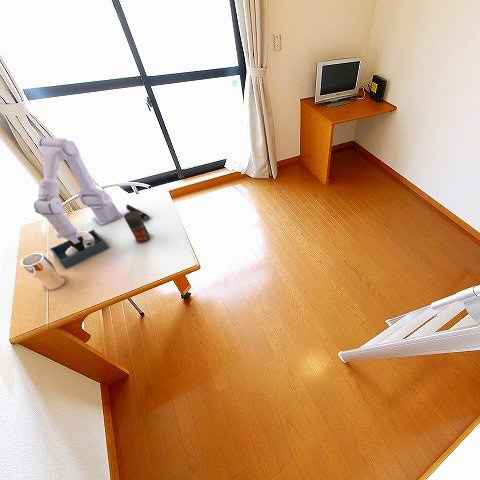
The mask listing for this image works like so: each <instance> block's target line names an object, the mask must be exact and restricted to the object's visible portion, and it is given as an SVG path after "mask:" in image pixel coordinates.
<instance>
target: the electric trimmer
mask: <svg viewBox="0 0 480 480" xmlns="http://www.w3.org/2000/svg"><path fill="white" fill-rule="evenodd" d="M125 207H126V210H127V211H128V212H131V211H137V212H138V213H139V214H140V216H141V219H142V221H143V222H147V221H148V220H150V219H151V218H150V215H149V214H147V213H146V212H144V211H141V210H139V209H138V208H136V207H133V206H132V205H130V204H126V206H125Z"/></svg>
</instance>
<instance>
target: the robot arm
mask: <svg viewBox="0 0 480 480" xmlns="http://www.w3.org/2000/svg"><path fill="white" fill-rule="evenodd" d="M37 143H38V144H37V145H38V151H39V152H40V154H41V155H42V164H43V178H42V179H41V180H39V183H38V184H39V185H38V197H37V200H35V201H34V204H33V208H34V212H35V213H36V214H39V215H41V216H42V217H44V218H45V219H46V221H48V223H49V224H50V225H51V227H53V229H54V230H55V231H56V232H57V234H56V235H55V237H56V238H57V239H60V238H62V239H65V240H67V242H66V241H65V242H66V243H67V244H68V245H69V246H72V247H74V248H75V249H77V250H78V251H79V252H81V251H83V250H85V247H84V245H83V237H82V236H81V237H78V238H77V233H78V229H77V228H76V227H75V226H74V224H73V223H72V222H71V220H70V218H68V216H67V215H66V214H65V212H64V211H63V208H64V207H63V205H64V204H63V203H62V199H61V198H60V189H61V188H60V186H61V185H60V183H59V181H57V178H58V174H59V173H58V172H59V167H60V162H61V161H64V160H65V161H66V163H67V165H68V166H69V168H70V170H71V172H72V174H73V176H74V177H75V179H76V181H77V184H78V185H79V187H80V190H79V191H78V195H79V200H80V202H81V204H82V205H84V206H87V208H90V210H91V211H92V213H93V215H94V216H95V217H94V219H95V220H96V222H98V223H99V224H100V226H103V225H106V224H108V223H110V222H113V221H115V220H117V219H119V218H121V217H122V215H121V214H120V212H119V210H118V208H117V206H116V205H115V203H114V202H113V201H112V200H111V199H110V197H109V195H108V194H107V192H105V190H104V189H103V188H102V187H100V186H97V185H96V184H95V183H94V180H93V178H92V176H91V173H90V172H89V170H88V168H87V166H86V165H85V162H84V160H83V158H82V156H81V153H80V151H79V149H78V147H77V144H76V143H75V141H74V140H73V139H70V138H68V137H67V138H57V137H55V138H54V137H45V136H43V137H40V138H39V140H38V142H37Z"/></svg>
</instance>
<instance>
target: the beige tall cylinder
mask: <svg viewBox="0 0 480 480" xmlns="http://www.w3.org/2000/svg"><path fill="white" fill-rule="evenodd" d="M20 265H21V267H23V268H24V269H25V271H26V272H27V273H29V275H31V276H32V277H34V278H35V279H37V280H39V281H40V282H42V283H43V285H44V286H45V287H46V289H48V290H56V289H59V288H61V287H62V286H63V285H64V284H65V281H66V279H65V278H64V277H63V276H61V275H60V274H59V273H58V272H57V270H56V267H55V266H54V264H53V263H52V262H51V260H50V259H48V258H47V256H45V255H44V254H43V253H41V252H34V253H31V254H29V255H26V256H24V258H22V259H21V261H20Z"/></svg>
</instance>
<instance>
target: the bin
mask: <svg viewBox="0 0 480 480" xmlns="http://www.w3.org/2000/svg"><path fill="white" fill-rule="evenodd" d="M87 232H88V233H90V234H91V235H92V236H93V237H94V240H95V245H93V246H91V247H89V248H87V249H85V250H83V251H81V252H78V253H76V254H74V255H72V256H70V257H68V256H67V255H66V253H65V252H66V251H67V249H68V248H70V246H69V245H68V244H67V243H66V242H67V241H68V240H67V241H64V242H61V243H59V244H57V245H55V246H53V247H51V248H49V250H50V251H51V253H52V254H53V256H55V258H56V259H57V261H58V262H59V263H60V264H61V265H62V266H63V268H64V269H65V270H67V269H68V268H71V267H73V266H74V265H77V264H78V263H79V264H80V263H81V262H83V261H85V260H87V259H89V258H91V257H93V256H96V255H97V254H99V253H102V252H103V251H106V250H108V249H109V246H108V244H107V242H106V241H105V240H104V239H103V237H101V235H99V233H98V232H97V231H96V230H95V229H91V230H89V231H87ZM87 245H90V243H89V244H87Z"/></svg>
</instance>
